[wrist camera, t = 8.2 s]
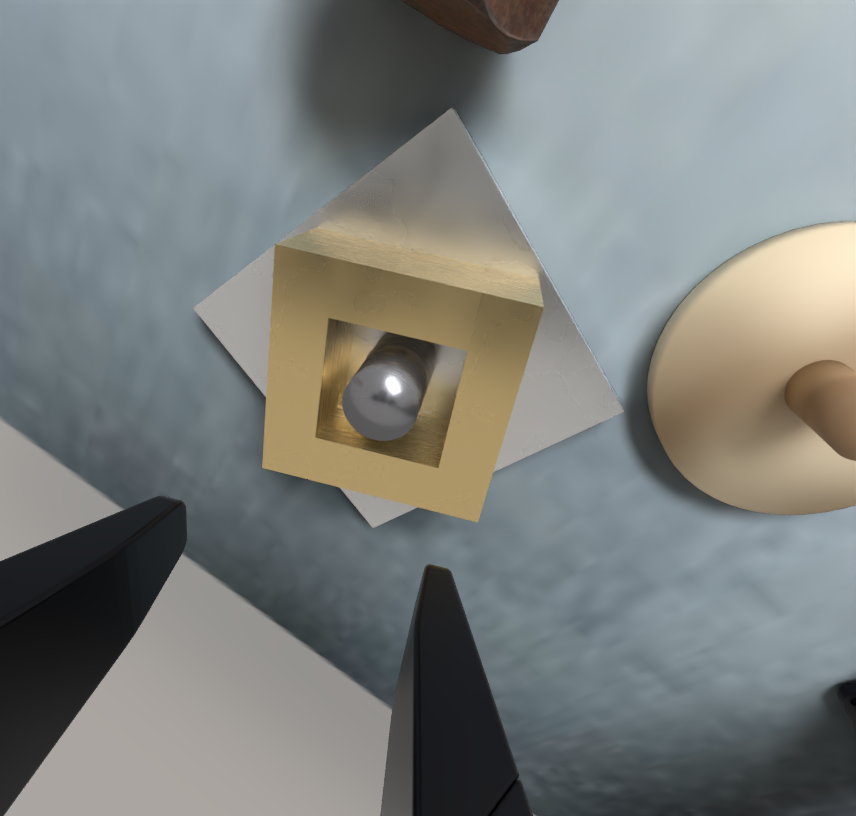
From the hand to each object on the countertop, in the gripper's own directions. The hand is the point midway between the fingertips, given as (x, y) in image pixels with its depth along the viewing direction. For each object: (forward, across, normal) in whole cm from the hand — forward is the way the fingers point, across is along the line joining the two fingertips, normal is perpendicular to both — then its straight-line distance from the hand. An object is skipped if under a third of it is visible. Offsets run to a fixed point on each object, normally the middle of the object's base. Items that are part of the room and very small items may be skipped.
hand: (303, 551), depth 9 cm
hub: (+10, 0, 0) cm, 10 cm away
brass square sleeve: (+9, 0, 0) cm, 9 cm away
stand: (+10, -12, -2) cm, 16 cm away
